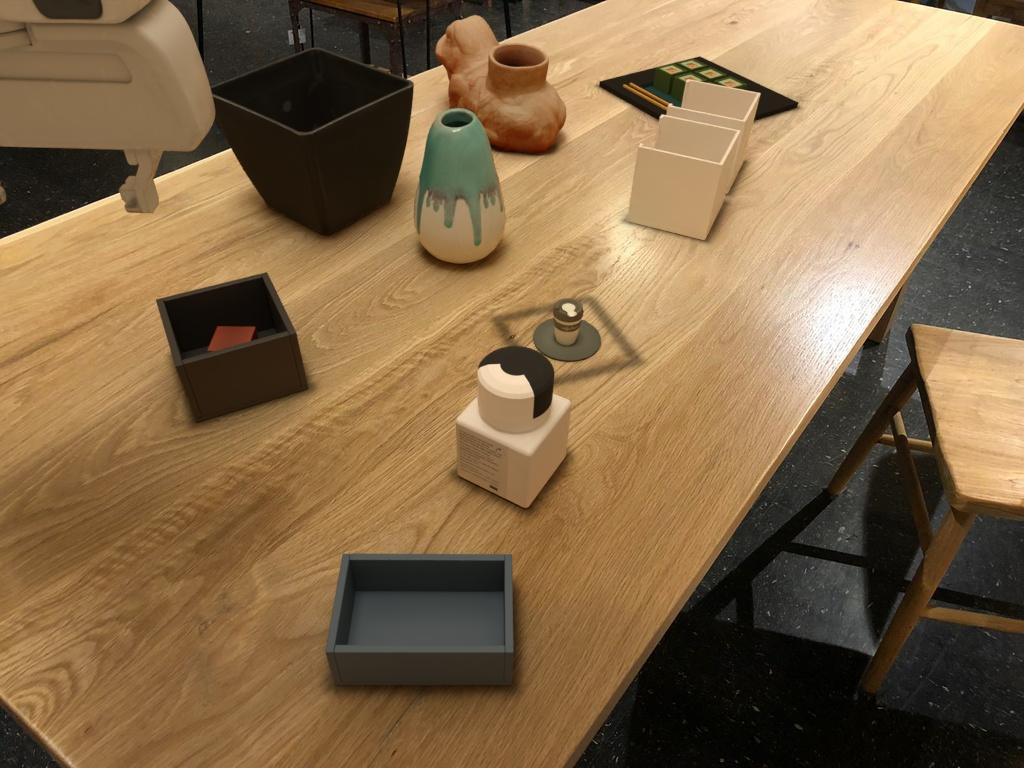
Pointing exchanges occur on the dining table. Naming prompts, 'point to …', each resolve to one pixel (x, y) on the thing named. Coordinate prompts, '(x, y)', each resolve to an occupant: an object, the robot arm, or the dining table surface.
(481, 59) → the ceramic vessel
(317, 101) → the flower pot
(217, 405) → the basket
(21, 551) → the dining table surface
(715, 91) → the storage container
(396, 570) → the box
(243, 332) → the block
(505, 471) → the container
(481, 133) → the vase
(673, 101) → the sushi
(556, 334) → the coffee cup
